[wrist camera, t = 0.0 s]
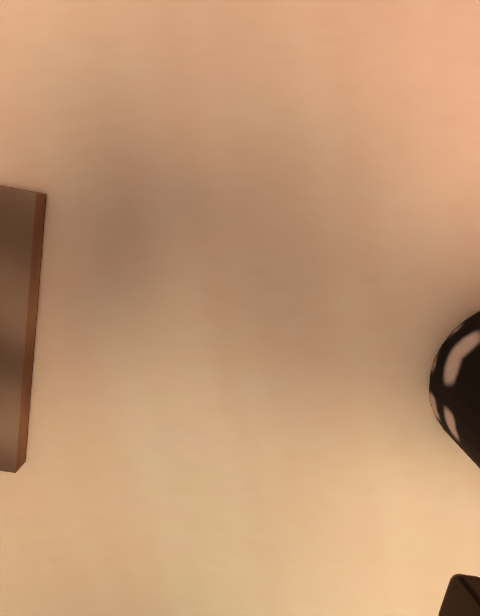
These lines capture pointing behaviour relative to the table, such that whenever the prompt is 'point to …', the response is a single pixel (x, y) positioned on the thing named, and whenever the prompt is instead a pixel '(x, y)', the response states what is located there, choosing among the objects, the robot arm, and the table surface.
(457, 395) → the white-spotted black cylinder
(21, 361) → the shaker holder
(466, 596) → the robot arm
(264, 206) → the table surface
